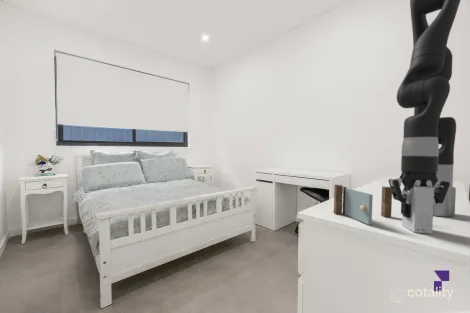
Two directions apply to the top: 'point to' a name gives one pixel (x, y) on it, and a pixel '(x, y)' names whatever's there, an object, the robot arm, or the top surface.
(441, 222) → the top surface
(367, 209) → the door
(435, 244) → the top surface
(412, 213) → the skincare box
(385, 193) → the door frame
